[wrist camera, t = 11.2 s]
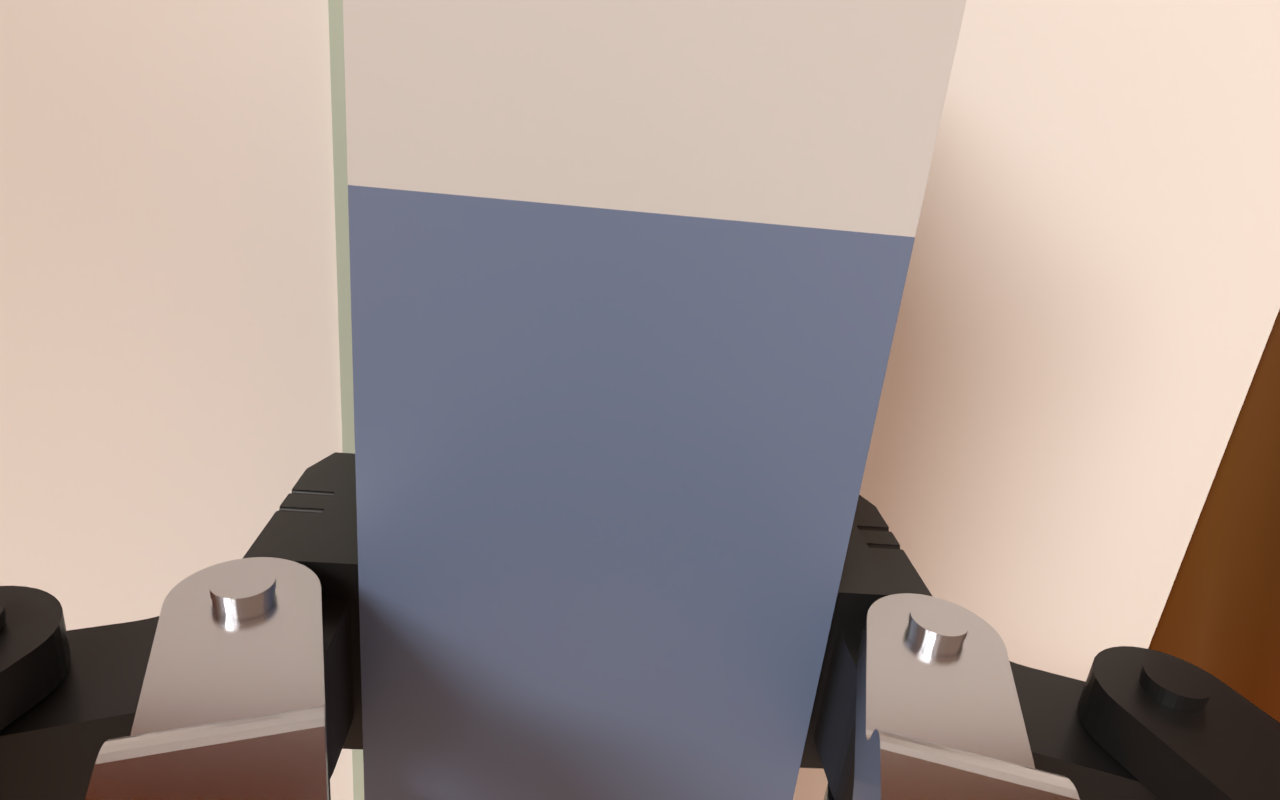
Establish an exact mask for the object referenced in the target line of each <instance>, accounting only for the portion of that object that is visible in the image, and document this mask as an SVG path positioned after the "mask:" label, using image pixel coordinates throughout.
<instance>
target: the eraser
mask: <svg viewBox="0 0 1280 800" xmlns="http://www.w3.org/2000/svg"><path fill="white" fill-rule="evenodd" d="M966 1H967V0H343V25H344V62H345V99H346V136H347V173H348V210H349V247H350V284H351V321H352V358H353V395H354V432H355V469H356V506H357V543H358V580H359V617H360V654H361V691H362V728H363V765H364V800H793V796H794V792H795V787H796V783H797V778H798V773H799V769H800V764H801V760H802V755H803V750H804V746H805V741H806V737H807V732H808V727H809V723H810V718H811V714H812V709H813V704H814V700H815V695H816V691H817V686H818V681H819V677H820V672H821V668H822V663H823V658H824V654H825V649H826V645H827V640H828V635H829V631H830V626H831V622H832V617H833V612H834V608H835V603H836V599H837V594H838V589H839V585H840V580H841V576H842V571H843V566H844V562H845V557H846V553H847V548H848V543H849V539H850V534H851V530H852V525H853V520H854V516H855V511H856V507H857V502H858V497H859V493H860V488H861V484H862V479H863V474H864V470H865V465H866V461H867V456H868V451H869V447H870V442H871V438H872V433H873V428H874V424H875V419H876V415H877V410H878V405H879V401H880V396H881V392H882V387H883V382H884V378H885V373H886V369H887V364H888V359H889V355H890V350H891V346H892V341H893V336H894V332H895V327H896V323H897V318H898V313H899V309H900V304H901V300H902V295H903V290H904V286H905V281H906V277H907V272H908V267H909V263H910V258H911V254H912V249H913V245H914V240H915V235H916V231H917V226H918V222H919V217H920V212H921V208H922V203H923V199H924V194H925V189H926V185H927V180H928V176H929V171H930V166H931V162H932V157H933V153H934V148H935V143H936V139H937V134H938V130H939V125H940V120H941V116H942V111H943V107H944V102H945V97H946V93H947V88H948V84H949V79H950V74H951V70H952V65H953V61H954V56H955V51H956V47H957V42H958V38H959V33H960V28H961V24H962V19H963V15H964V10H965V5H966Z"/></svg>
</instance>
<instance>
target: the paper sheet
mask: <svg viewBox="0 0 1280 800" xmlns="http://www.w3.org/2000/svg"><path fill="white" fill-rule="evenodd" d="M1279 309H1280V0H967V1H966V5H965V10H964V15H963V19H962V24H961V28H960V33H959V38H958V42H957V47H956V51H955V56H954V61H953V65H952V70H951V74H950V79H949V84H948V88H947V93H946V97H945V102H944V107H943V111H942V116H941V120H940V125H939V130H938V134H937V139H936V143H935V148H934V153H933V157H932V162H931V166H930V171H929V176H928V180H927V185H926V189H925V194H924V199H923V203H922V208H921V212H920V217H919V222H918V226H917V231H916V235H915V240H914V245H913V249H912V254H911V258H910V263H909V267H908V272H907V277H906V281H905V286H904V290H903V295H902V300H901V304H900V309H899V313H898V318H897V323H896V327H895V332H894V336H893V341H892V346H891V350H890V355H889V359H888V364H887V369H886V373H885V378H884V382H883V387H882V392H881V396H880V401H879V405H878V410H877V415H876V419H875V424H874V428H873V433H872V438H871V442H870V447H869V451H868V456H867V461H866V465H865V470H864V474H863V479H862V484H861V488H860V493H859V495H861V496H862V497H863V498H865V499H866V500H868V501H869V502H870V503H872V504H873V505H874V506H876V508H877V509H878V511H879V513H880V514H881V516H882V517H883V519H884V520H885V522H886V524H887V525H888V527H889V532H892V533H893V535H894V536H895V538H896V539H897V541H898V543H899V544H900V549H901V550H904V552H905V554H906V555H907V557H908V558H909V560H910V561H911V563H912V565H913V566H914V568H915V569H916V571H917V572H918V574H919V576H920V577H921V579H922V580H923V582H924V583H925V585H926V587H927V588H928V590H929V591H930V593H931V595H932V596H933V597H936V598H940V599H944V600H946V601H949V602H952V603H955V604H957V605H959V606H961V607H964V608H966V609H967V610H969V611H971V612H973V613H975V614H976V615H978V616H979V617H980V618H982V619H983V620H985V621H986V622H987V623H988V624H989V625H991V626H992V627H993V628H994V629H995V631H996V632H997V633H998V634H999V635H1000V637H1001V638H1002V640H1003V641H1004V644H1005V647H1006V649H1007V654H1008V658H1009V661H1011V662H1014V663H1017V664H1020V665H1023V666H1027V667H1030V668H1034V669H1038V670H1042V671H1046V672H1050V673H1054V674H1057V675H1061V676H1065V677H1069V678H1073V679H1077V680H1081V681H1085V682H1086V680H1087V677H1088V674H1089V672H1090V669H1091V666H1092V663H1093V661H1094V658H1095V656H1096V655H1097V654H1098V653H1099V652H1101V651H1103V650H1104V649H1108V648H1111V647H1119V646H1132V647H1140V648H1146V649H1148V647H1149V645H1150V642H1151V640H1152V637H1153V634H1154V632H1155V629H1156V627H1157V624H1158V622H1159V619H1160V616H1161V614H1162V611H1163V609H1164V606H1165V603H1166V601H1167V598H1168V596H1169V593H1170V591H1171V588H1172V585H1173V583H1174V580H1175V578H1176V575H1177V572H1178V570H1179V567H1180V565H1181V562H1182V560H1183V557H1184V554H1185V552H1186V549H1187V547H1188V544H1189V541H1190V539H1191V536H1192V534H1193V531H1194V529H1195V526H1196V523H1197V521H1198V518H1199V516H1200V513H1201V510H1202V508H1203V505H1204V503H1205V500H1206V498H1207V495H1208V492H1209V490H1210V487H1211V485H1212V482H1213V479H1214V477H1215V474H1216V472H1217V469H1218V467H1219V464H1220V461H1221V459H1222V456H1223V454H1224V451H1225V448H1226V446H1227V443H1228V441H1229V438H1230V436H1231V433H1232V430H1233V428H1234V425H1235V423H1236V420H1237V417H1238V415H1239V412H1240V410H1241V407H1242V405H1243V402H1244V399H1245V397H1246V394H1247V392H1248V389H1249V386H1250V384H1251V381H1252V379H1253V376H1254V374H1255V371H1256V368H1257V366H1258V363H1259V361H1260V358H1261V355H1262V353H1263V350H1264V348H1265V345H1266V343H1267V340H1268V337H1269V335H1270V332H1271V330H1272V327H1273V324H1274V322H1275V319H1276V317H1277V314H1278V312H1279ZM335 452H338V453H353V454H355V432H354V395H353V358H352V321H351V284H350V247H349V210H348V173H347V136H346V99H345V62H344V25H343V0H0V586H26V587H31V588H36V589H40V590H43V591H46V592H48V593H50V594H51V595H53V596H55V597H56V599H57V600H58V601H59V602H60V604H61V606H62V609H63V614H64V620H65V626H66V631H68V630H75V629H83V628H90V627H97V626H104V625H111V624H118V623H126V622H133V621H138V620H144V619H149V618H153V617H157V616H160V612H161V608H162V605H163V602H164V600H165V598H166V596H167V595H168V594H169V592H170V591H171V590H172V589H173V588H174V587H175V586H176V585H177V584H178V583H180V582H181V581H182V580H184V579H185V578H187V577H188V576H190V575H192V574H194V573H196V572H198V571H200V570H202V569H205V568H207V567H209V566H213V565H216V564H219V563H222V562H226V561H231V560H236V559H242V558H243V557H244V555H245V554H246V553H247V551H248V550H249V548H250V547H251V546H252V544H253V543H254V541H255V540H256V539H257V537H258V536H259V534H260V533H261V532H262V530H263V529H264V527H265V526H266V525H267V523H268V522H269V520H270V519H271V518H272V516H273V515H274V513H275V512H276V511H279V509H280V505H281V504H282V502H283V501H284V499H285V498H286V497H287V495H288V494H289V493H292V488H293V487H294V485H295V484H296V483H297V481H298V480H299V478H300V477H301V476H302V474H303V473H304V471H305V470H306V469H307V468H309V467H310V466H312V465H314V464H316V463H317V462H319V461H321V460H323V459H324V458H326V457H328V456H330V455H331V454H333V453H335ZM827 783H828V781H827V778H826V775H825V772H824V769H820V768H800V769H799V773H798V778H797V783H796V787H795V792H794V796H793V800H824V796H825V792H826V788H827ZM330 791H331V800H364V765H363V750H361V749H342V751H341V753H340V756H339V759H338V761H337V764H336V767H335V769H334V772H333V774H332V776H331V778H330Z"/></svg>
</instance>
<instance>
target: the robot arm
mask: <svg viewBox="0 0 1280 800" xmlns="http://www.w3.org/2000/svg"><path fill="white" fill-rule="evenodd" d="M342 749H361V750H363V728H362V691H361V654H360V617H359V580H358V543H357V506H356V469H355V454H353V453H338V452H335V453H333V454H331V455H330V456H328V457H326V458H324V459H323V460H321V461H319V462H317V463H316V464H314V465H312V466H310V467H309V468H307V469H306V470H305V471H304V473H303V474H302V476H301V477H300V478H299V480H298V481H297V483H296V484H295V485H294V487H293V488H292V493H289V494H288V495H287V497H286V498H285V499H284V501H283V502H282V504H281V505H280V509H279V511H276V512H275V513H274V515H273V516H272V518H271V519H270V520H269V522H268V523H267V525H266V526H265V527H264V529H263V530H262V532H261V533H260V534H259V536H258V537H257V539H256V540H255V541H254V543H253V544H252V546H251V547H250V548H249V550H248V551H247V553H246V554H245V555H244V557H243V558H242V559H236V560H231V561H226V562H222V563H219V564H216V565H213V566H209V567H207V568H205V569H202V570H200V571H198V572H196V573H194V574H192V575H190V576H188V577H187V578H185V579H184V580H182V581H181V582H180V583H178V584H177V585H176V586H175V587H174V588H173V589H172V590H171V591H170V592H169V594H168V595H167V596H166V598H165V600H164V602H163V605H162V608H161V612H160V616H157V617H153V618H149V619H144V620H138V621H133V622H126V623H118V624H111V625H104V626H97V627H90V628H83V629H75V630H68V631H66V626H65V620H64V614H63V609H62V606H61V604H60V602H59V601H58V600H57V599H56V597H55V596H53V595H51V594H50V593H48V592H46V591H43V590H40V589H36V588H31V587H26V586H0V800H331V791H330V778H331V776H332V774H333V772H334V769H335V767H336V764H337V761H338V759H339V756H340V753H341V751H342ZM800 768H820V769H824V772H825V775H826V778H827V781H828V783H827V788H826V792H825V796H824V800H1280V723H1279V722H1278V721H1276V720H1275V719H1273V718H1272V717H1271V716H1269V715H1268V714H1266V713H1265V712H1264V711H1262V710H1261V709H1259V708H1258V707H1257V706H1255V705H1254V704H1252V703H1251V702H1250V701H1248V700H1247V699H1246V698H1244V697H1243V696H1241V695H1240V694H1239V693H1237V692H1236V691H1234V690H1233V689H1232V688H1230V687H1229V686H1227V685H1226V684H1225V683H1223V682H1222V681H1220V680H1219V679H1217V678H1216V677H1214V676H1213V675H1211V674H1210V673H1208V672H1206V671H1204V670H1202V669H1201V668H1199V667H1197V666H1195V665H1193V664H1191V663H1188V662H1186V661H1184V660H1182V659H1179V658H1177V657H1174V656H1171V655H1168V654H1165V653H1162V652H1159V651H1155V650H1151V649H1146V648H1140V647H1132V646H1119V647H1111V648H1108V649H1104V650H1103V651H1101V652H1099V653H1098V654H1097V655H1096V656H1095V658H1094V661H1093V663H1092V666H1091V669H1090V672H1089V674H1088V677H1087V680H1086V682H1085V681H1081V680H1077V679H1073V678H1069V677H1065V676H1061V675H1057V674H1054V673H1050V672H1046V671H1042V670H1038V669H1034V668H1030V667H1027V666H1023V665H1020V664H1017V663H1014V662H1011V661H1009V658H1008V654H1007V649H1006V647H1005V644H1004V641H1003V640H1002V638H1001V637H1000V635H999V634H998V633H997V632H996V631H995V629H994V628H993V627H992V626H991V625H989V624H988V623H987V622H986V621H985V620H983V619H982V618H980V617H979V616H978V615H976V614H975V613H973V612H971V611H969V610H967V609H966V608H964V607H961V606H959V605H957V604H955V603H952V602H949V601H946V600H944V599H940V598H936V597H933V596H932V595H931V593H930V591H929V590H928V588H927V587H926V585H925V583H924V582H923V580H922V579H921V577H920V576H919V574H918V572H917V571H916V569H915V568H914V566H913V565H912V563H911V561H910V560H909V558H908V557H907V555H906V554H905V552H904V550H901V549H900V544H899V543H898V541H897V539H896V538H895V536H894V535H893V533H892V532H889V527H888V525H887V524H886V522H885V520H884V519H883V517H882V516H881V514H880V513H879V511H878V509H877V508H876V506H874V505H873V504H872V503H870V502H869V501H868V500H866V499H865V498H863V497H862V496H861V495H859V497H858V502H857V507H856V511H855V516H854V520H853V525H852V530H851V534H850V539H849V543H848V548H847V553H846V557H845V562H844V566H843V571H842V576H841V580H840V585H839V589H838V594H837V599H836V603H835V608H834V612H833V617H832V622H831V626H830V631H829V635H828V640H827V645H826V649H825V654H824V658H823V663H822V668H821V672H820V677H819V681H818V686H817V691H816V695H815V700H814V704H813V709H812V714H811V718H810V723H809V727H808V732H807V737H806V741H805V746H804V750H803V755H802V760H801V764H800Z"/></svg>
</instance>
